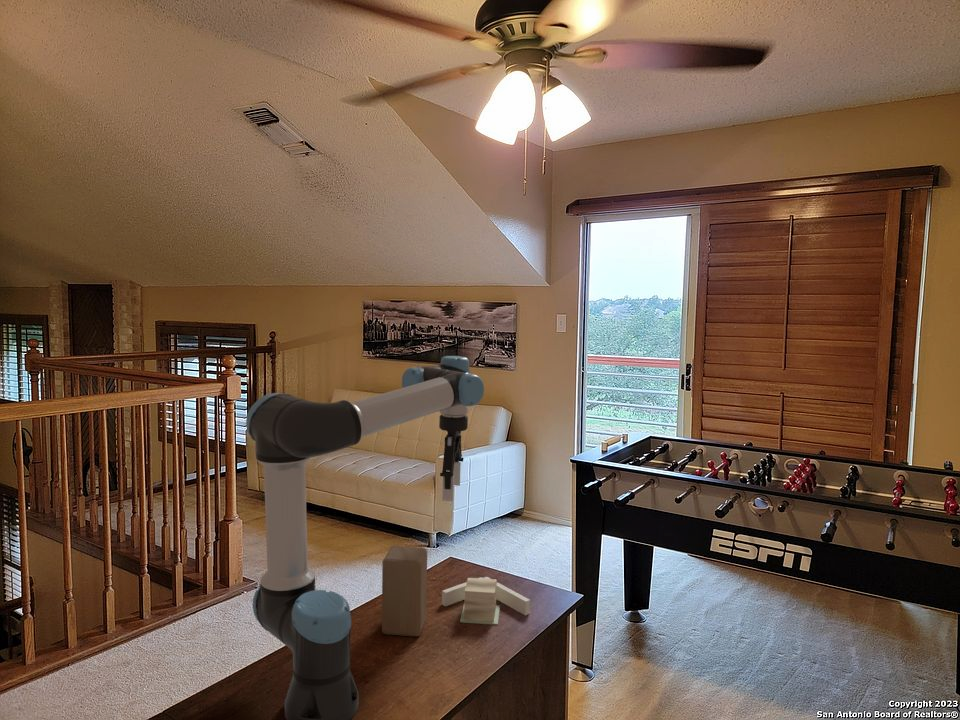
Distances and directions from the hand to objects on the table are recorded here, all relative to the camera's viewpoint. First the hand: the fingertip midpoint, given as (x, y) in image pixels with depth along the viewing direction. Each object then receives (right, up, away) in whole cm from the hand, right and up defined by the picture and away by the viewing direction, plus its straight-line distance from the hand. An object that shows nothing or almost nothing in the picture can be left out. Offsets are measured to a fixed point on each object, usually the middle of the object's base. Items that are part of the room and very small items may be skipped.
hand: (451, 492), depth 178 cm
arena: (+8, -33, +5) cm, 35 cm away
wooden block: (-12, -34, -5) cm, 37 cm away
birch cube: (+8, -33, +2) cm, 34 cm away
